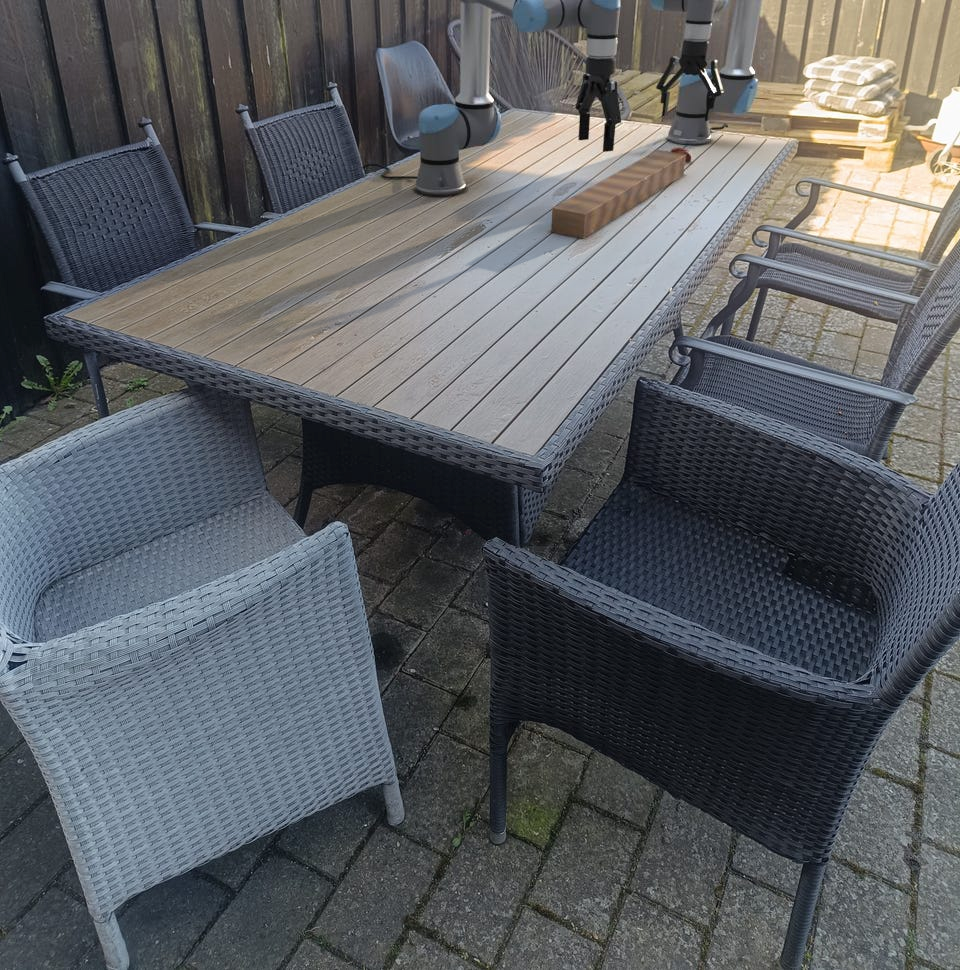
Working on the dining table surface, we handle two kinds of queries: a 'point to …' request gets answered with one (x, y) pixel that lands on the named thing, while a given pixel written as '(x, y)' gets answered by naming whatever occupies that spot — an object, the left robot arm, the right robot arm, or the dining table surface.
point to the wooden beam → (616, 194)
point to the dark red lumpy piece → (680, 150)
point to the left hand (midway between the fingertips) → (595, 145)
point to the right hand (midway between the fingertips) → (685, 117)
